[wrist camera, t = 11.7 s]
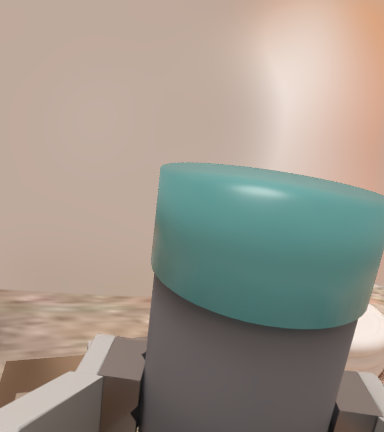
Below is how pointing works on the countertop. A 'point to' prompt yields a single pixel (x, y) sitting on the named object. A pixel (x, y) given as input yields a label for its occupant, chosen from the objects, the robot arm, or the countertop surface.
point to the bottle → (254, 297)
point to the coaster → (368, 343)
